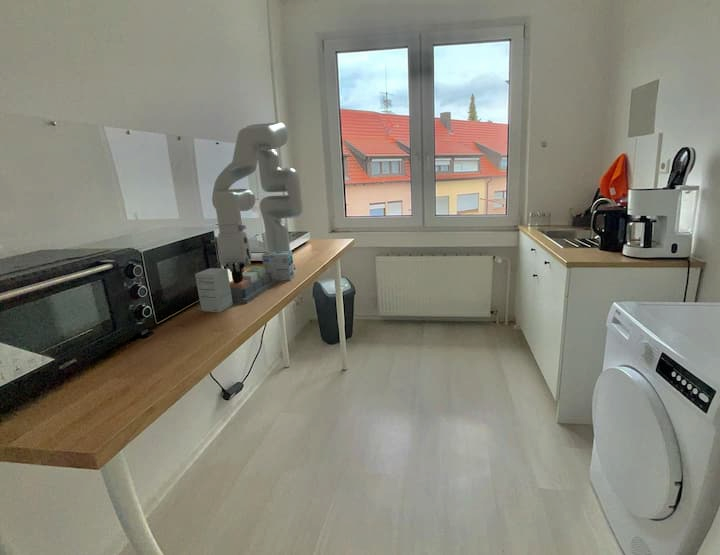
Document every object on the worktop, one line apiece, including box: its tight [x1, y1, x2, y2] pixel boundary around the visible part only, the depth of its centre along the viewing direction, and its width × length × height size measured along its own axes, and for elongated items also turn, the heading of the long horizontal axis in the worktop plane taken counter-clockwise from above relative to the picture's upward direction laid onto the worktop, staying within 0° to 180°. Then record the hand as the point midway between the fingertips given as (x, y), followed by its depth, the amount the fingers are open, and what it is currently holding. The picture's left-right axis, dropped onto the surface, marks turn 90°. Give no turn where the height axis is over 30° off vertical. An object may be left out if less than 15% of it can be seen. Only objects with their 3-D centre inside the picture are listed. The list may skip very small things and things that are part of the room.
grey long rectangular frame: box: [230, 273, 277, 304], centre depth 154 cm, size 24×10×4 cm, turn 167°
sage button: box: [246, 267, 266, 278], centre depth 160 cm, size 5×5×4 cm
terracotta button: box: [230, 280, 249, 289], centre depth 147 cm, size 5×5×4 cm
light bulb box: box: [261, 250, 296, 282], centre depth 169 cm, size 11×7×11 cm, turn 84°
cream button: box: [242, 271, 258, 283], centre depth 153 cm, size 5×5×4 cm
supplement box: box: [194, 267, 234, 313], centre depth 138 cm, size 7×7×13 cm
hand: (238, 281), depth 146 cm, fingers closed
